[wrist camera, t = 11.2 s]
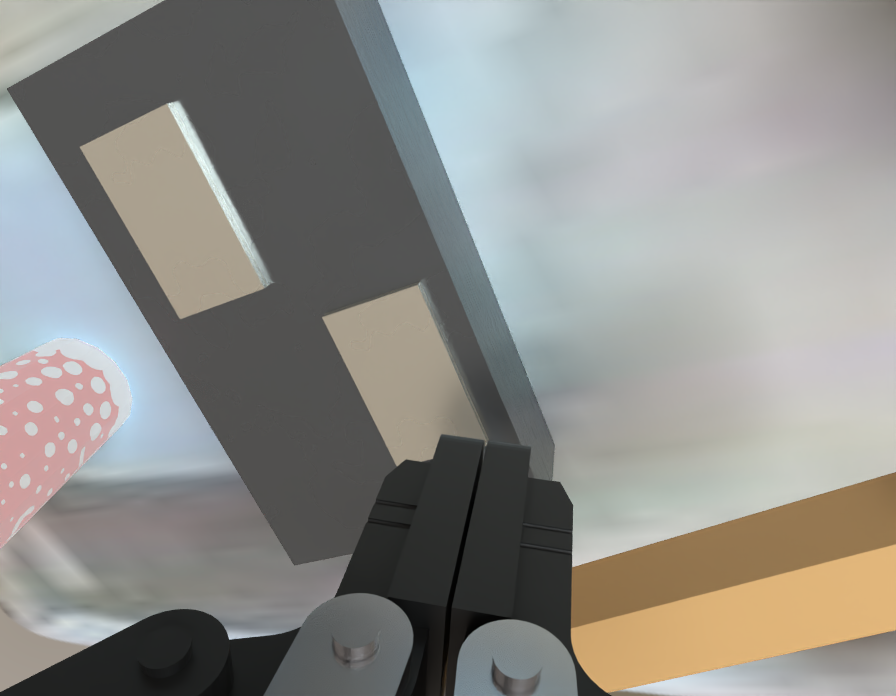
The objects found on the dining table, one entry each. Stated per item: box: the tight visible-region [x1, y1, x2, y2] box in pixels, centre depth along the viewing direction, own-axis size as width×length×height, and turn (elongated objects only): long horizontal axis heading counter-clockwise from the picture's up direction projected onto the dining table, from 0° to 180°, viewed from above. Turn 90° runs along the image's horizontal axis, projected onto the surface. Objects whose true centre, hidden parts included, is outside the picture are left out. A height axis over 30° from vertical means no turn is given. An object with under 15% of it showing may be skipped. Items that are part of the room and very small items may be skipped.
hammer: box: [444, 472, 896, 696], centre depth 15 cm, size 15×4×2 cm, turn 120°
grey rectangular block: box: [7, 0, 555, 565], centre depth 20 cm, size 19×10×9 cm, turn 22°
